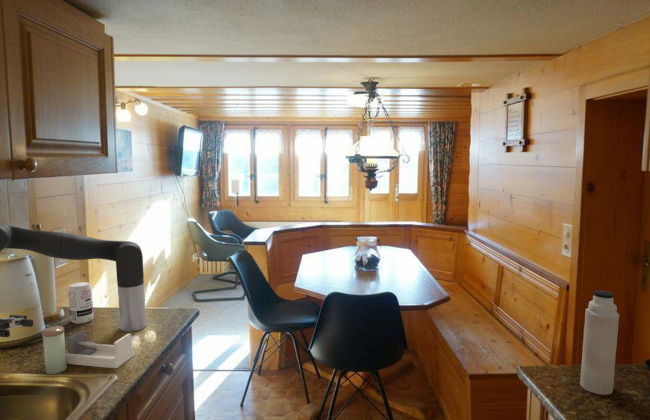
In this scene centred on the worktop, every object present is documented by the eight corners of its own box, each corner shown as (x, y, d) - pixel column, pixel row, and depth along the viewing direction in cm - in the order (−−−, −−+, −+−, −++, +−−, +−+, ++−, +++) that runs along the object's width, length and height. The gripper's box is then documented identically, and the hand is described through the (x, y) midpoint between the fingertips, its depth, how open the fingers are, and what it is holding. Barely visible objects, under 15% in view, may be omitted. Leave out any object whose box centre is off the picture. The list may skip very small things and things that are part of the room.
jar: (48, 366, 140) (44, 327, 138) (69, 363, 142) (65, 325, 140) (43, 375, 135) (39, 334, 133) (65, 372, 137) (61, 332, 135)
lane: (60, 363, 143) (58, 339, 142) (81, 350, 152) (79, 328, 151) (116, 368, 139) (114, 344, 138) (134, 355, 148) (132, 332, 147)
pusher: (68, 358, 143) (67, 338, 142) (83, 349, 150) (82, 330, 149) (88, 359, 142) (86, 339, 141) (101, 350, 148) (100, 331, 148)
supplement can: (76, 317, 183) (73, 281, 181) (97, 316, 184) (94, 281, 182) (66, 324, 175) (63, 287, 173) (89, 323, 176) (86, 287, 174)
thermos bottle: (599, 379, 131) (607, 287, 127) (619, 394, 123) (628, 296, 119) (574, 380, 130) (580, 288, 127) (592, 395, 122) (600, 297, 119)
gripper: (-46, 320, 134) (-1, 325, 131) (-4, 305, 148) (38, 309, 145) (-44, 344, 135) (1, 349, 132) (-2, 327, 149) (40, 331, 146)
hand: (21, 328), depth 139 cm, fingers open, 8 cm apart
